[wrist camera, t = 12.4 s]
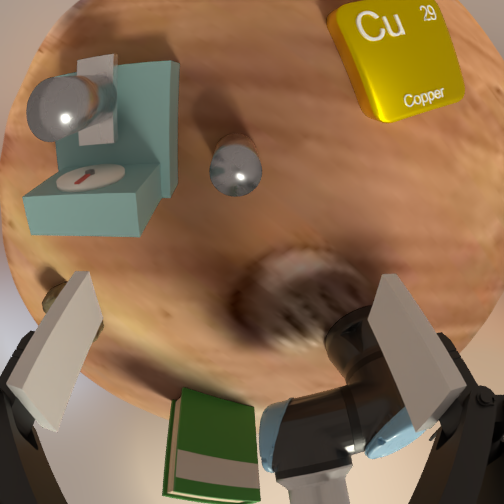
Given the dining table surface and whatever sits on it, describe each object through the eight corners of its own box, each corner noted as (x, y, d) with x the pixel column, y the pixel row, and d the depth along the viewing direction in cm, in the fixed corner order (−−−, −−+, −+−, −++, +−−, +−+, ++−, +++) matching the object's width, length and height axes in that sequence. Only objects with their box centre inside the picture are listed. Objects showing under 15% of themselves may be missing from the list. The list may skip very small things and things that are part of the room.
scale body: (178, 183, 37) (151, 237, 25) (79, 185, 36) (24, 234, 24) (179, 63, 29) (146, 52, 17) (73, 75, 28) (3, 83, 16)
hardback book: (171, 400, 62) (162, 495, 42) (183, 387, 59) (174, 491, 39) (238, 419, 68) (241, 506, 47) (254, 407, 65) (260, 501, 44)
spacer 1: (117, 121, 25) (79, 138, 18) (73, 126, 24) (29, 145, 18) (117, 71, 22) (77, 71, 15) (72, 79, 22) (25, 84, 15)
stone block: (65, 276, 43) (53, 295, 39) (108, 322, 49) (100, 343, 45) (48, 288, 45) (36, 307, 40) (89, 331, 50) (81, 351, 46)
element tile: (364, 122, 34) (380, 129, 30) (319, 14, 27) (331, 5, 22) (450, 95, 31) (471, 100, 27) (416, -3, 24) (435, -9, 20)
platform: (124, 137, 28) (113, 143, 26) (91, 139, 28) (79, 145, 26) (124, 55, 24) (113, 53, 21) (90, 60, 23) (77, 60, 21)
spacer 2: (255, 174, 37) (260, 197, 30) (214, 172, 36) (209, 195, 30) (258, 134, 34) (264, 148, 27) (215, 132, 34) (210, 146, 27)
